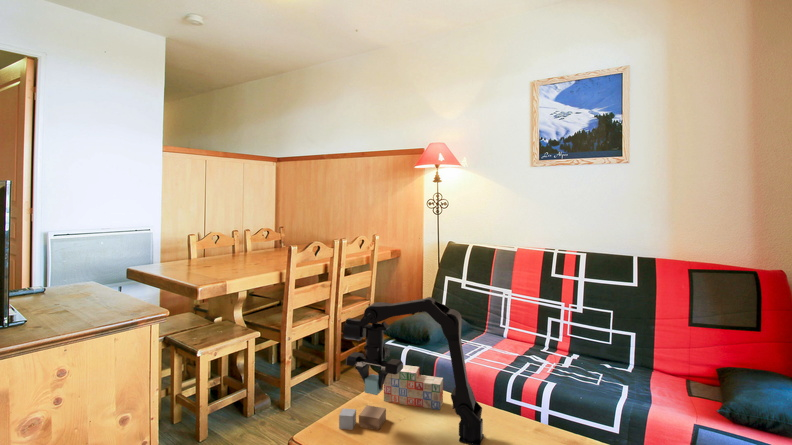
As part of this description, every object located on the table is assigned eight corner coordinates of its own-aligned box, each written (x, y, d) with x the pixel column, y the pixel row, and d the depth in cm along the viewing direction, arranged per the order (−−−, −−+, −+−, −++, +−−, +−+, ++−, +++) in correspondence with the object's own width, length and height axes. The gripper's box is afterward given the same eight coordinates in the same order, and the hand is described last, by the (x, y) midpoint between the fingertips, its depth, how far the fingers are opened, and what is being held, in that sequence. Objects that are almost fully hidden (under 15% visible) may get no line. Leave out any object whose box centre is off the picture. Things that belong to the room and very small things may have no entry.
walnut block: (385, 419, 135) (385, 408, 134) (378, 430, 128) (378, 418, 128) (366, 416, 137) (366, 405, 137) (358, 427, 130) (358, 415, 130)
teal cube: (382, 389, 133) (383, 376, 133) (376, 395, 129) (377, 381, 129) (370, 387, 135) (371, 373, 135) (364, 392, 131) (364, 379, 131)
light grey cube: (356, 422, 132) (356, 409, 132) (352, 430, 128) (352, 416, 128) (342, 421, 133) (342, 408, 133) (339, 428, 129) (339, 415, 129)
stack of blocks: (443, 402, 147) (443, 369, 146) (439, 410, 141) (440, 376, 140) (388, 393, 153) (388, 362, 153) (383, 401, 147) (383, 368, 147)
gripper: (409, 338, 135) (408, 383, 136) (361, 331, 143) (360, 373, 143) (396, 348, 125) (395, 397, 125) (345, 340, 132) (344, 386, 133)
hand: (373, 388), depth 132 cm, fingers closed on teal cube, 4 cm apart
